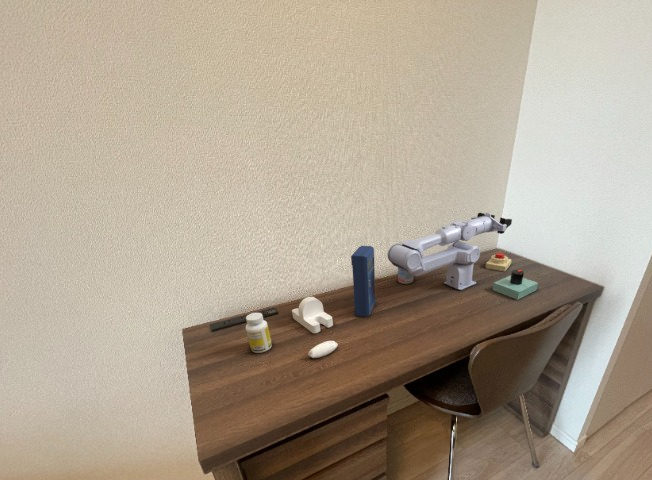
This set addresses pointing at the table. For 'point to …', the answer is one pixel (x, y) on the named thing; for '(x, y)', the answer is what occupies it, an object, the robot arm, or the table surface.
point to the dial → (516, 277)
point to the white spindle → (323, 349)
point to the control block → (498, 263)
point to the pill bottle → (405, 276)
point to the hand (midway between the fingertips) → (502, 219)
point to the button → (499, 255)
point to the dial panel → (515, 287)
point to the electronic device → (363, 280)
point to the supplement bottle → (258, 333)
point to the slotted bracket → (312, 315)
